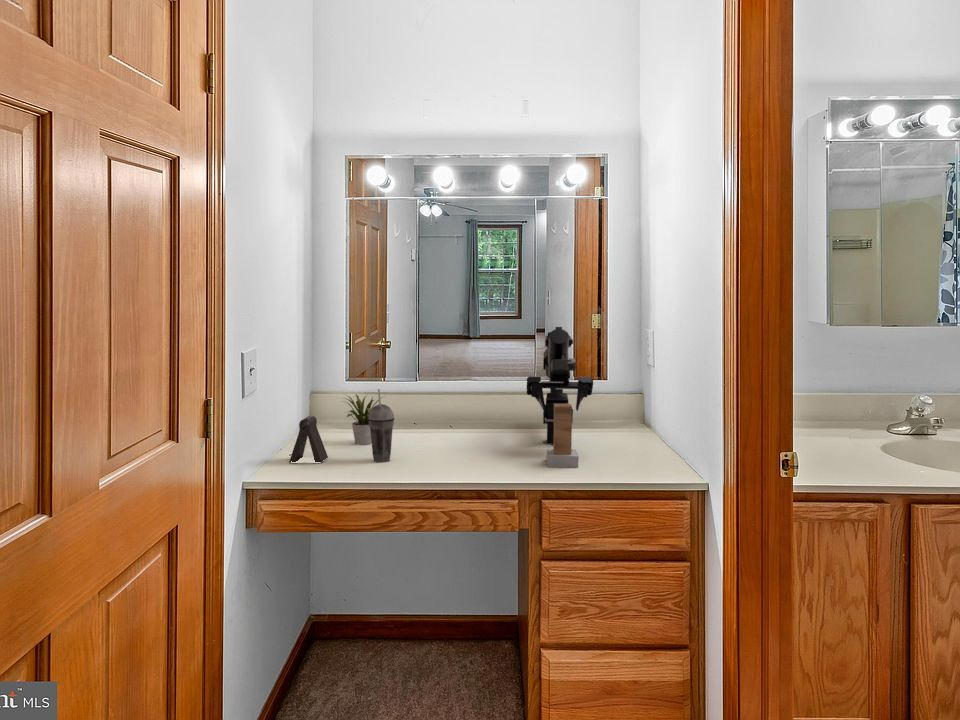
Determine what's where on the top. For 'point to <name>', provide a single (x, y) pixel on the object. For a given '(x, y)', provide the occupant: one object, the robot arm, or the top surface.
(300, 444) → the phone stand
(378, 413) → the beverage cup
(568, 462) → the plinth
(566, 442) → the walnut block
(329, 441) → the top surface
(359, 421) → the house plant
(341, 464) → the top surface
